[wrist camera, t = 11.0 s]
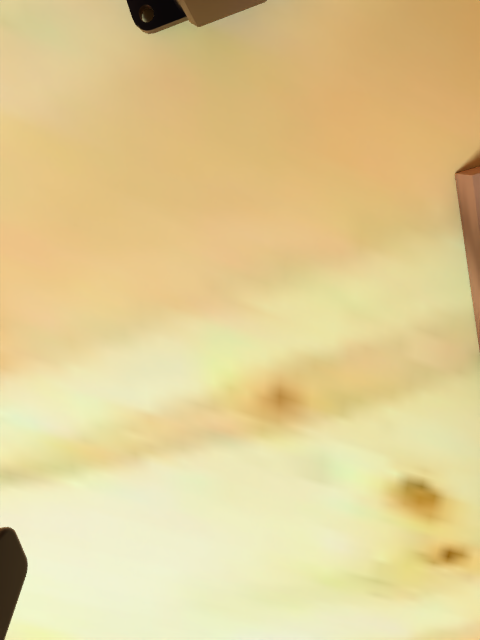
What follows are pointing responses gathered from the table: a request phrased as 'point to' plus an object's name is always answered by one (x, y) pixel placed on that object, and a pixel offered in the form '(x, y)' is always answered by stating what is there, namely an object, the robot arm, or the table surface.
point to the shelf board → (471, 230)
